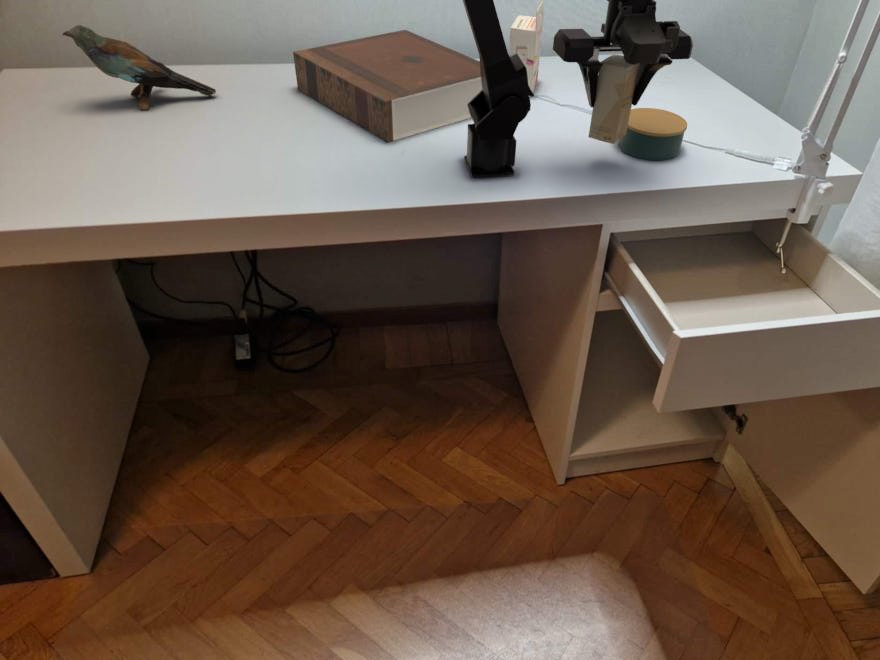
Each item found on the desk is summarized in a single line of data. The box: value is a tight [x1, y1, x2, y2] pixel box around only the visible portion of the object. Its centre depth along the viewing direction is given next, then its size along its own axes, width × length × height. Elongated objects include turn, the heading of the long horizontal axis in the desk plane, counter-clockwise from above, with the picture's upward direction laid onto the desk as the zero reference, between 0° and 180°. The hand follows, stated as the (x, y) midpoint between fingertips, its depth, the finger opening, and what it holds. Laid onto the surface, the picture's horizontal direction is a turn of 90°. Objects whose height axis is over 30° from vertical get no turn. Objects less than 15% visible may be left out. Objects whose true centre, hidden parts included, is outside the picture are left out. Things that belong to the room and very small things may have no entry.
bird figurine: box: [62, 24, 217, 111], centre depth 115 cm, size 13×10×20 cm
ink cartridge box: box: [508, 0, 545, 98], centre depth 126 cm, size 9×5×15 cm, turn 168°
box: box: [588, 53, 640, 145], centre depth 101 cm, size 5×4×11 cm
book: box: [292, 29, 482, 143], centre depth 122 cm, size 24×28×6 cm
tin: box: [617, 107, 688, 161], centre depth 111 cm, size 10×10×4 cm
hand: (612, 105), depth 101 cm, fingers closed on box, 6 cm apart
